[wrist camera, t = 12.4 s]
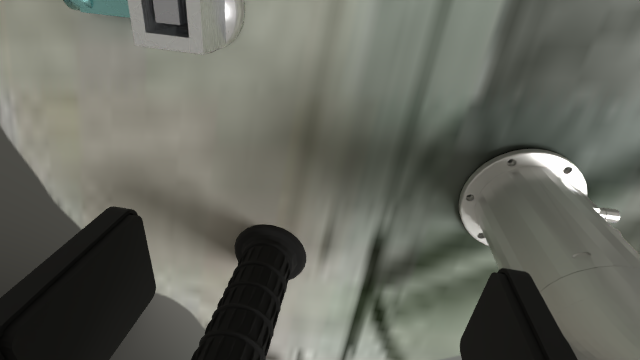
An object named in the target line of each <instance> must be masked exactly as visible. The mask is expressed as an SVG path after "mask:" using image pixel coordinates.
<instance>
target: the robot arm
mask: <svg viewBox="0 0 640 360" xmlns="http://www.w3.org/2000/svg"><path fill="white" fill-rule="evenodd" d="M510 159H511V160H510ZM509 160H510V161H509ZM587 194H588V191H587V183H586V181H585V178H584V176H583V174H582V173H581V171H580V170H579V169H578V168H577V166H575V165H574V164H573V163H572V162H571V161H570V160H568V159H567V158H565V157H563V156H562V155H560V154H558V153H554V152H551V151H548V150H542V149H521V150H516V151H511V152H508V153H505V154H502V155H499V156H497V157H495V158H493V159H491V160H489V161H488V162H486V163H485V164H483V165H482V166H481V167H479V168H478V169H477V170H476V171H475V172H474V173H473V174H472V175H471V176H470V177H469V179H468V180H467V182H466V183H465V185H464V187H463V189H462V192H461V194H460V199H459V213H460V216H461V220H462V222H463V224H464V226H465V228H466V230H467V231H468V232H469V233H470V235H471V236H473V237H474V238H475V239H476V240H478V241H480V242H481V243H483V244H485V245H488V246H489V247H490V250H491V252H492V254H493V256H494V259H495V261H496V263H497V265H498V267H499V271H498V273H492V274H491V275H490V277H489V279H488V282H487V284H486V286H485V288H484V290H483V292H482V295H481V297H480V299H479V301H478V303H477V305H476V307H475V310H474V312H473V314H472V316H471V318H470V320H469V323H468V325H467V327H466V329H465V331H464V333H463V335H462V338H461V341H460V352H461V357H462V360H640V254H639V253H638V252H637V251H636V250H635V249H634V248H633V247H632V246H631V245H630V244H629V243H628V242H627V241H626V240H625V239H624V238H623V237H622V235H621V232H620V231H619V230H618V229H616V228H613V227H612V226H611V225H610V224H609V223H608V222H611V223H616V222H618V221H619V219H620V213H619V211H618V210H616V209H609V208H598V207H597V206H596V205H595V204H594V203H593V202H592V201H591V200H590V199H589V198H588V197H587ZM155 290H156V284H155V279H154V274H153V269H152V264H151V260H150V255H149V250H148V245H147V240H146V235H145V231H144V226H143V221H142V218H141V217H140V216H138V215H137V213H136V211H135V210H132V209H126V208H120V207H109V208H108V209H106V210H105V211H104V212H103V213H101V214H100V215H99V216H98V217H97V218H95V219H94V220H93V221H92V222H91V223H89V224H88V225H87V226H86V227H85V228H84V229H82V230H81V231H80V232H79V233H78V234H76V235H75V236H74V237H73V238H72V239H70V240H69V241H68V242H67V243H66V244H64V245H63V246H62V247H61V248H60V249H58V250H57V251H56V252H55V253H54V254H52V255H51V256H50V257H49V258H48V259H46V260H45V261H44V262H43V263H42V264H40V265H39V266H38V267H37V268H36V269H34V270H33V271H32V272H31V273H30V274H29V275H27V276H26V277H25V278H24V279H23V280H21V281H20V282H19V283H18V284H17V285H15V286H14V287H13V288H12V289H11V290H10V291H8V292H7V293H6V294H5V295H3V296H2V297H1V298H0V360H109V359H110V358H111V356H112V355H113V354H114V352H115V351H116V349H117V348H118V346H119V345H120V344H121V342H122V341H123V339H124V338H125V337H126V335H127V334H128V332H129V331H130V329H131V328H132V327H133V325H134V324H135V322H136V321H137V320H138V318H139V317H140V315H141V314H142V312H143V311H144V310H145V308H146V307H147V305H148V304H149V303H150V301H151V300H152V298H153V296H154V294H155Z"/></svg>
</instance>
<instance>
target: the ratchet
mask: <svg viewBox="0 0 640 360" xmlns="http://www.w3.org/2000/svg"><path fill="white" fill-rule="evenodd" d="M63 1H64V2H65V3H66V5H67V6H68V7H70V8H71V9H74V10H81V12H86V13H94V14H103V15H112V16H120V17H129V18H130V12H129V6H128V0H63ZM153 5H154V12H155V20H156V22H158V23H166V24H175V25H176V26H178V27H186V28H188V19H187V8H186V0H153ZM244 17H245V5H244V0H225V20H226V46H227V45H229V44H230V43H232V42H233V41H234V40H235V39H236V37H237V36H238V34H239V33H240V31H241V29H242V26H243V23H244ZM226 46H223V47H226ZM223 47H221V48H223ZM221 48H218V49H221ZM218 49H216V50H218ZM216 50H213V51H216ZM213 51H211V52H213ZM211 52H208V53H211ZM195 54H197V53H195ZM206 54H207V53H206Z"/></svg>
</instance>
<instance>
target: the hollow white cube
mask: <svg viewBox="0 0 640 360" xmlns="http://www.w3.org/2000/svg"><path fill="white" fill-rule="evenodd" d="M128 6H129V12H130V18H131V25H132V31H133V37H134V43H135V46H143V47H150V48H158V49H166V50H174V51H181V52H189V53H197V54H206V53H208V52H211V51H213V50H216V49H218V48H221V47H223V46H226V20H225V0H186V8H187V19H188V28H186V27H178V26H176V25H175V24H166V23H158V22H156V20H155V12H154V5H153V0H128Z"/></svg>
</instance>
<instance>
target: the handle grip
mask: <svg viewBox="0 0 640 360" xmlns="http://www.w3.org/2000/svg"><path fill="white" fill-rule="evenodd" d="M235 254H236V257H237V260H238V267H237V268H236V269H235V270H234V273H233V276H232V278H231V279H230V281H229V283H228V287H227V288H226V289H225V291H224V293H223V297H222V298H221V299H220V301H219V303H218V307H217V310H216V311H215V312H214V314H213V315H212V320H211V321H210V322H209V324H208V326H207V328H206V331H205V335H204V336H203V337H202V338H201V340H200V342H199V347H198V349H197V350H196V351H195V352H194V354H193V356H192V359H191V360H266V355H267V352H268V349H269V346H270V342H271V339H272V337H273V332H274V328H275V325H276V322H277V318H278V314H279V312H280V310H281V309H280V307H281V303H282V300H283V297H284V293H285V292H286V288H287V283H288V280H290V279H293V278H295V277H296V276H297V275H299V274H300V273H301V271H302V270H303V268H304V267H305V263H306V253H305V250H304V248H303V245H302V244H301V243H300V241H299V240H298V239H297V238H296V237H295V236H294V235H292V234H291V233H290V232H288V231H286V230H284V229H282V228H279V227H276V226H272V225H257V226H253V227H250V228H247V229H246V230H244V231H243V232H242V233H241V234H240V235H239V236H238V238H237V239H236V243H235Z"/></svg>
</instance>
